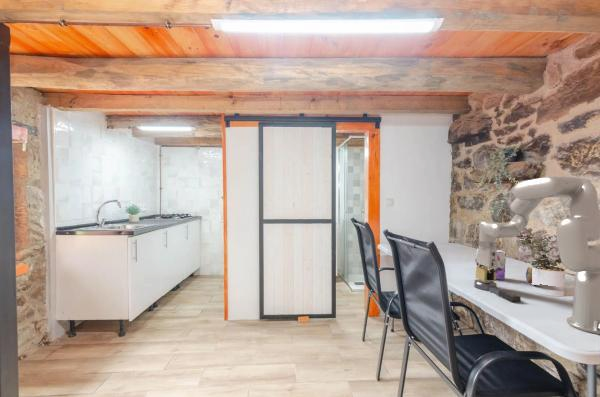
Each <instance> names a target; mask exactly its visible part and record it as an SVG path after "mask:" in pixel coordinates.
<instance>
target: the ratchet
mask: <svg viewBox="0 0 600 397" xmlns="http://www.w3.org/2000/svg"><path fill="white" fill-rule="evenodd" d="M474 288H476V289H477V290H481V291H486V292H489V291H490V292H489V293H492V294H493V293H494V295H495V294H496V296H498V297H500V298H502V299H504V300H505V299H506V301H508V302H510V303H521V298H522V297H521V296H520V295H519V294H516V293H514V292H512V291H510V290H506V289H503V288H500V287H499V286H498V285H497V283H496V281H482V280H480V279H478V278H476V279H474Z"/></svg>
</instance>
